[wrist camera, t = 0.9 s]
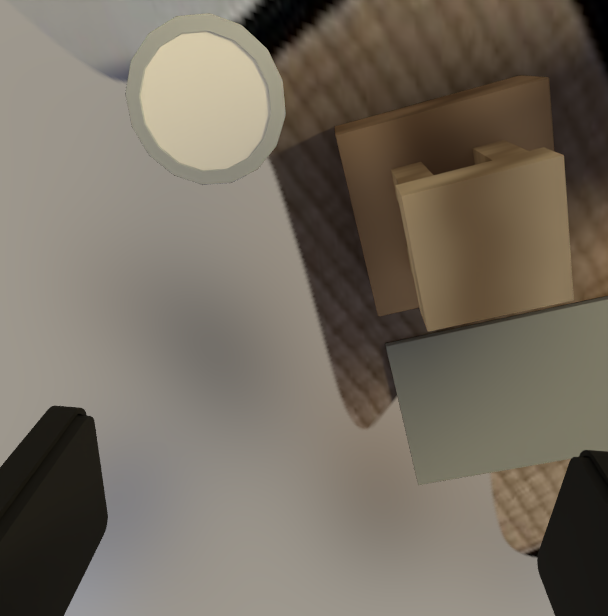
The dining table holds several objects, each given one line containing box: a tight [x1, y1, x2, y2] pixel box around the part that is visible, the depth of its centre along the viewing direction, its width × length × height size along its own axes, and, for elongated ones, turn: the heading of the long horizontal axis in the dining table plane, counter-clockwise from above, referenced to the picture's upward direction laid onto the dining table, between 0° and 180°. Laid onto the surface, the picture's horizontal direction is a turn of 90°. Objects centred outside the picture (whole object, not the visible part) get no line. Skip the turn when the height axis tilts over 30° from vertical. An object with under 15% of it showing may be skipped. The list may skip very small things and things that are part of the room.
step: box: [335, 75, 554, 317], centre depth 29 cm, size 10×10×4 cm
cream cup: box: [125, 13, 286, 185], centre depth 26 cm, size 7×7×7 cm
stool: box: [391, 140, 574, 332], centre depth 24 cm, size 6×6×6 cm
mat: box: [385, 296, 608, 485], centre depth 36 cm, size 14×12×1 cm
